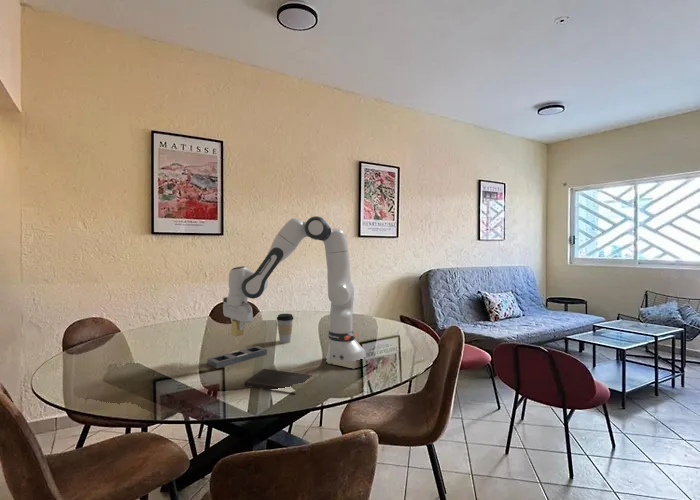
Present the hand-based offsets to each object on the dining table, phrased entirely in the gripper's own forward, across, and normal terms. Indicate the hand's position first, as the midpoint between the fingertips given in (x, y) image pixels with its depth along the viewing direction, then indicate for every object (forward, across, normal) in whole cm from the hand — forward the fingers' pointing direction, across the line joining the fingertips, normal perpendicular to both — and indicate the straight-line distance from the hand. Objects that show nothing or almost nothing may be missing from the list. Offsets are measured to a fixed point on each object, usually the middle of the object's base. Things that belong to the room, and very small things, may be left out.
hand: (237, 328), depth 194 cm
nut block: (+3, 0, 0) cm, 3 cm away
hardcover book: (+15, -37, +5) cm, 41 cm away
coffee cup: (+15, +6, -34) cm, 38 cm away
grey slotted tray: (+15, 0, 0) cm, 15 cm away
